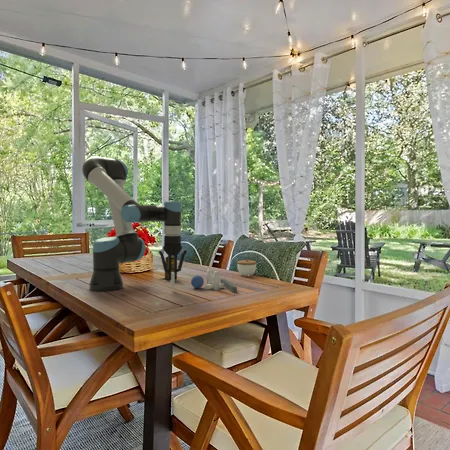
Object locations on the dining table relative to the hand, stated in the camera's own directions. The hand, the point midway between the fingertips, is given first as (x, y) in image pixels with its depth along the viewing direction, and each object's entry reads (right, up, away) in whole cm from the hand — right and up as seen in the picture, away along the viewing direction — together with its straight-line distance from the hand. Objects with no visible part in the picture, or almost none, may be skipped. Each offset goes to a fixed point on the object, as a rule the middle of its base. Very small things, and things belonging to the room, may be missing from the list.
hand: (172, 286), depth 171 cm
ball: (+11, +1, +6) cm, 13 cm away
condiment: (-6, -1, +27) cm, 27 cm away
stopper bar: (+25, -2, +8) cm, 27 cm away
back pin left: (+17, -2, +8) cm, 18 cm away
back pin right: (+20, -2, +3) cm, 20 cm away
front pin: (+15, -1, +4) cm, 16 cm away
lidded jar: (+36, 0, +41) cm, 54 cm away
